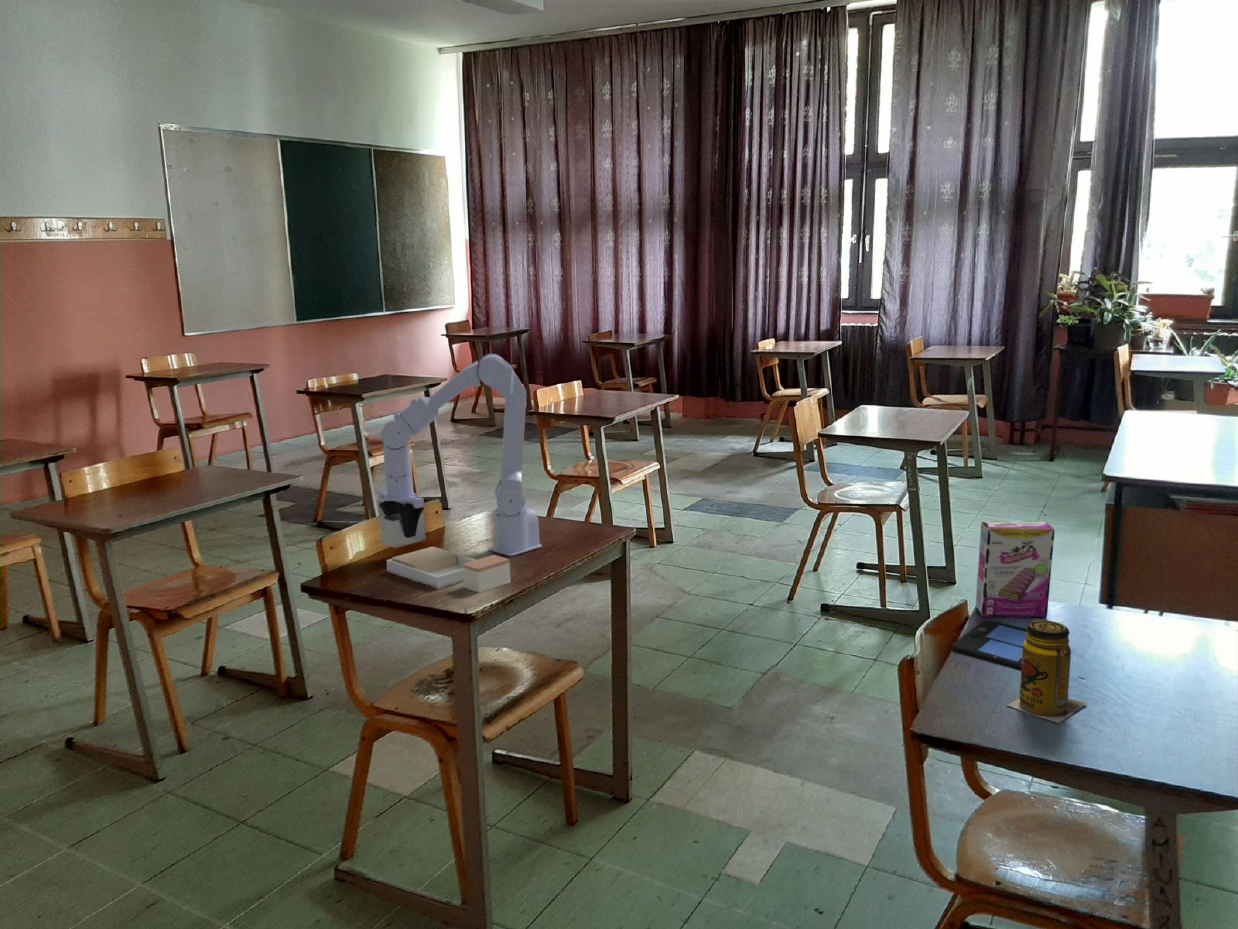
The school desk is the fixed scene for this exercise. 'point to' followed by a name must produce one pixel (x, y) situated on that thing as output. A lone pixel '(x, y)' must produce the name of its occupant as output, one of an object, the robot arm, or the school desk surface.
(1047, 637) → the condiment
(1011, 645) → the game console
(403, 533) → the steel block
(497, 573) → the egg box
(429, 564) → the tray
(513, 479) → the robot arm
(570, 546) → the school desk surface
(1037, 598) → the candy bar box
